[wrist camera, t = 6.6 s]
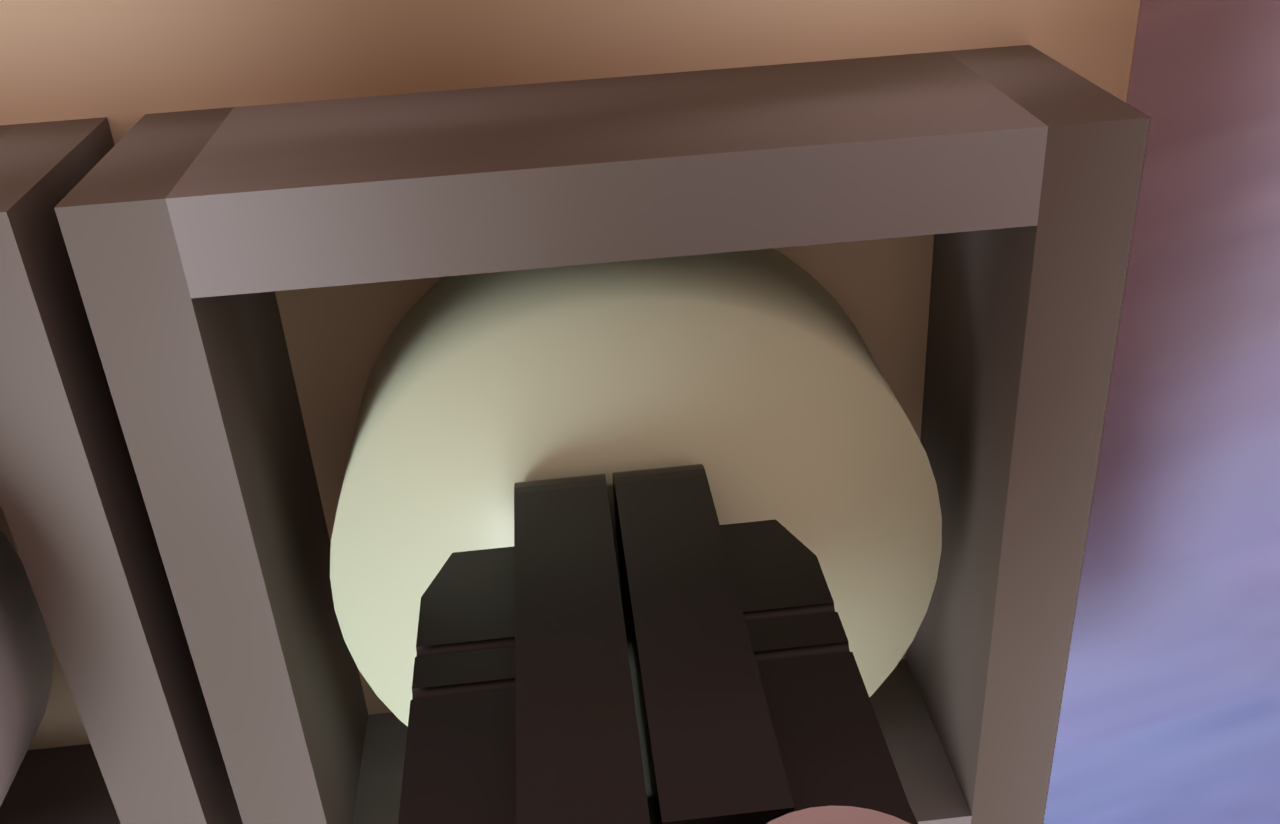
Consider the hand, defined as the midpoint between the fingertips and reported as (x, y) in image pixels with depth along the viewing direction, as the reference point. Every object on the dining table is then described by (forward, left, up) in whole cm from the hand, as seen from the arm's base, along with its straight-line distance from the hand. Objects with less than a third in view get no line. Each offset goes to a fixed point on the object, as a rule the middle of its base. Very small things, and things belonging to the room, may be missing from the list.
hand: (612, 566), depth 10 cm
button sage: (0, 0, -2) cm, 2 cm away
